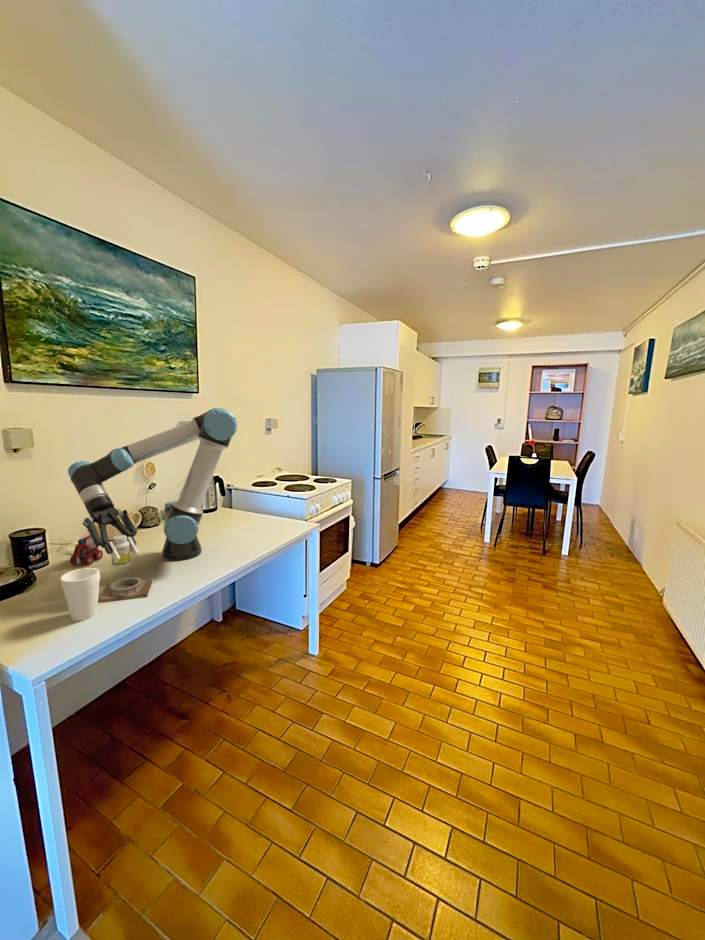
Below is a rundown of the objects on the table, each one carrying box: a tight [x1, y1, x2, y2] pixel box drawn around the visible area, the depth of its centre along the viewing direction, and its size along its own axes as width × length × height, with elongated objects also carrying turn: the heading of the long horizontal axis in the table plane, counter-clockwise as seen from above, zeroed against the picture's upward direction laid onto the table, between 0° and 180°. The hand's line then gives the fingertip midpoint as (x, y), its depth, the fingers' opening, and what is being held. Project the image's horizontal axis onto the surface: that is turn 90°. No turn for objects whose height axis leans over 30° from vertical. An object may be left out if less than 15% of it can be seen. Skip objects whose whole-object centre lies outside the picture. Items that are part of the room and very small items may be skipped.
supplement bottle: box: [111, 534, 132, 568], centre depth 127 cm, size 5×5×10 cm
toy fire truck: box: [69, 534, 104, 566], centre depth 152 cm, size 7×12×10 cm, turn 176°
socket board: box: [98, 576, 153, 603], centre depth 130 cm, size 14×11×3 cm
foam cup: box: [60, 567, 101, 622], centre depth 114 cm, size 10×9×13 cm
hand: (127, 557), depth 126 cm, fingers closed on supplement bottle, 5 cm apart
